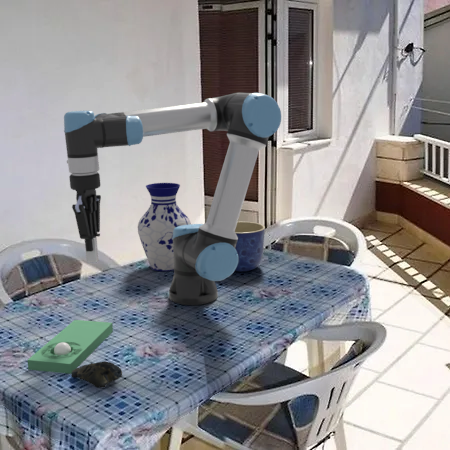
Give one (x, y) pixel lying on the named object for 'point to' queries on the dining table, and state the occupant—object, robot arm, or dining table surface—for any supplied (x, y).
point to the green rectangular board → (71, 346)
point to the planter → (249, 245)
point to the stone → (98, 373)
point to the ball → (62, 349)
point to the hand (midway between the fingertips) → (92, 261)
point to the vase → (161, 225)
